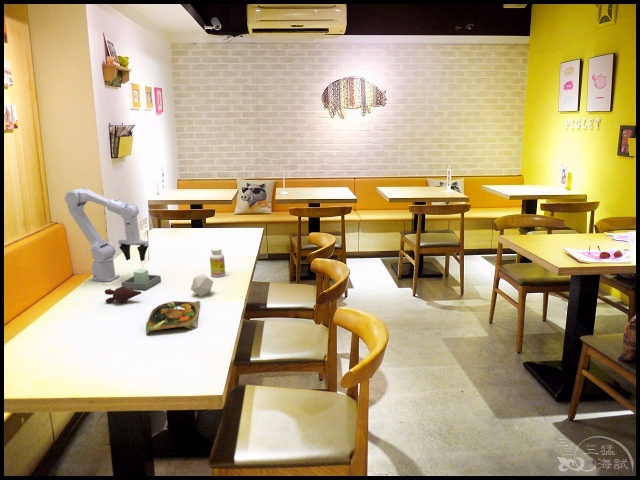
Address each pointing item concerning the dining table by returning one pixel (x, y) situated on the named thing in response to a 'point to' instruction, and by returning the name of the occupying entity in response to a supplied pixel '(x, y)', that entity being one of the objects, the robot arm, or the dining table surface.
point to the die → (202, 285)
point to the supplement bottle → (217, 263)
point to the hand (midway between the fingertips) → (135, 260)
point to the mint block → (141, 276)
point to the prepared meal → (173, 316)
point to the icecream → (121, 294)
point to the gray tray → (141, 286)
